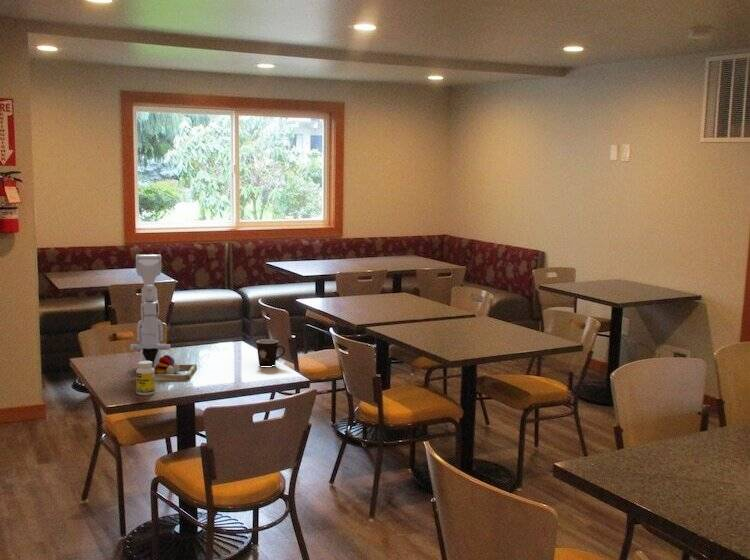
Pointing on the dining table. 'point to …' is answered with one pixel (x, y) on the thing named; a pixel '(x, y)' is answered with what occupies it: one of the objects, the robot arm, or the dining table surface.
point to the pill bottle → (145, 378)
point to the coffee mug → (268, 352)
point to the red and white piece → (166, 366)
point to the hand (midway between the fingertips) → (150, 368)
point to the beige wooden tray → (187, 376)
